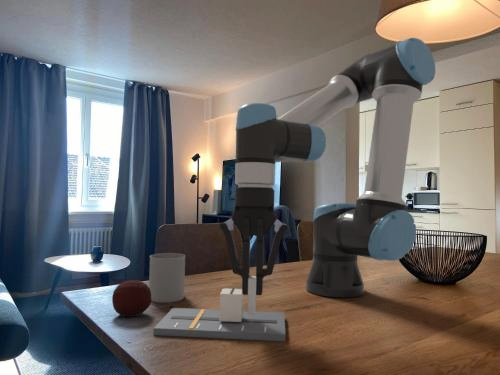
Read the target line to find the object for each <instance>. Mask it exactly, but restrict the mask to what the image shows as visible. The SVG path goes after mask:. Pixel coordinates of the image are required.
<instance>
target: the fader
mask: <svg viewBox="0 0 500 375" xmlns="http://www.w3.org/2000/svg"><path fill="white" fill-rule="evenodd" d="M244 296H245V295H243V293H242V288H235V287H232V288H222V290H221V292H220V293H219V310H220V319H219V321H230V322H241V321H242V317H243V311H244Z"/></svg>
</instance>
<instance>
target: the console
mask: <svg viewBox="0 0 500 375" xmlns="http://www.w3.org/2000/svg"><path fill="white" fill-rule="evenodd" d="M247 313H248V310H243V317H242V321H241V322H230V321H219V319H220V309H211V308H209V309H207V308H206V309H205V308H186V307H172V308H171V309H170V310H169V312H167V314H165V315H164V316H163V318H162V319H161V320H160V321H159V322H158V323H157V324H156V325H155V326H154V327H153V336H165V337H166V336H167V337H183V338H184V337H187V338H208V339H225V340H226V339H230V340H247V341H249V340H250V341H265V342H266V341H268V342H286V336H287V335H286V322H285V321H286V320H285V312H281V311H280V312H278V311H277V312H276V311H257V310H256V314H247Z"/></svg>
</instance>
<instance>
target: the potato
mask: <svg viewBox="0 0 500 375" xmlns="http://www.w3.org/2000/svg"><path fill="white" fill-rule="evenodd" d="M111 299H112V306H113V309H114V311H115V312H116V313H117V314H118V315H120V316H122V317H133V316H134V317H135V316H139V315H141V314H142V313H144V312H146V311H147V310H148V308H150V306H151V303H152V301H151V291H150V288H149V285H147V284H146V283H145V282H143V281H141V280H135V279H133V280H126V281H123V282H121V283H119V284H118V285H117V286H116V287H115V289H114V290H113V292H112V297H111Z"/></svg>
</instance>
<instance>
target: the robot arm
mask: <svg viewBox="0 0 500 375" xmlns="http://www.w3.org/2000/svg"><path fill="white" fill-rule="evenodd" d="M435 75H436V63H435V59H434V55H433V54H432V52H431V49H430V48H429V46H428V45H427V44H426V43H425V42H424V41H423V40H421V39H419V38H416V37H410V38H407V39H404V40H398V41H397V42H396V43H394V44H392V45H389V46H386V47H384V48H381V49H379V50H375V51H373V52H371V53H368V54H366V55H364V56H362V57H360V58H358V59H357V60H355V61H354V62H353V63H351V64H350V65H348V66H347V67H346V68H344V69H343V70H341V71H340V72H339V73H337V74H336V75H334V76H333V77H332V78H331V79H330V80H329V82H328V85H326V86H324V87H323V88H322V89H320V90H319V91H317V92H316V93H314V94H313V95H311V96H309V97H308V98H306V99H305V100H304V101H302V102H300V103H298V104H297V105H296V106H294V107H293V108H292V109H290V110H289V111H287V112H286V113H284V114H282V115H280V117H277V116H278V115H277V110H276V108H275V106H273V105H270V104H268V103H261V102H258V103H257V102H254V103H253V102H252V103H251V102H250V103H247V104H244V105H242V106H240V107H239V108H238V110H237V112H236V113H237V115H236V124H235V165H234V167H235V170H234V176H235V177H234V184H235V185H237V187H235V188H234V206H233V207H234V208H233V212H232V214H231V217H230V218H229V219H228V220H226V221H224V222H223V221H222V223H220V224H219V228H220V229H221V231H222V233H223V235H224V236H225V242H226V246H227V250H228V255H229V260H230V265H231V271H232V273H233V274H235V275H238V276H240V277H241V278H242V279H241V280H242V281H241V289H242V293H243V295H244V296H245V295H246V296H247V311H248V313H247V314H256V311H257V296H262V294H263V287H264V286H263V284H264V283H263V282H264V278H265V277H267V276H272V274H273V272H274V267H275V263H276V260H277V256H278V254H279V253H278V252H279V250H280V246H281V245H280V244H281V241H282V238H283V235H285V233H286V232H287V230H288V225H287V224H286V223H283V222H281V221H280V220H279V219H277V214H276V213H275V190H274V188H273V187H272V186H274V185H275V182H276V181H275V180H276V179H275V174H276V172H275V170H276V165H275V164H276V163H284V162H290V161H302V162H315V161H317V160H320V158H321V157H322V156H323V154H324V152H325V150H326V147H327V144H326V143H327V137H326V133H325V131H324V130H323V129H322V128H321V127H320V126H322V125H323V124H324V123H326V122H327V121H328V120H330V119H331V118H332V117H334V116H335V115H337V114H338V113H339V112H341V111H342V110H344V109H350V108H352V107H354V106H355V105H357V104H359V103H362V102H364V101H367V100H371V99H373V100H375V101H376V106H375V111H374V112H375V113H374V121H373V127H372V128H373V129H372V134H371V141H370V148H369V157H368V163H367V169H366V176H365V185H364V191H363V193H362V194H361V195H360V196H358V197H357V198H356V202H343V203H342V202H340V203H328V204H327V203H326V204H322V205H318V206H317V207H315V209H314V211H313V219H312V244H313V245H312V254H313V255H312V263H311V265H310V268H309V271H308V274H307V277H306V281H305V289H306V291H307V292H309V293H312V294H315V295H318V296H322V297H331V298H355V297H361V296H363V295H364V294H365V283H364V280H363V277H362V274H361V271H360V267H359V265H358V264H359V263H358V256H359V257H363V258H369V259H374V260H377V261H389V262H395V261H398V260H400V259H402V258H404V257H405V255H406V254H408V253H409V251H410V250H412V247H413V245H414V242H415V239H416V234H417V226H416V225H417V224H415V218H414V217H413V215H412V214H411V213H410V212H408V204H407V203H406V202H405V200H404V199H403V197H402V196H403V189H404V181H405V173H406V166H407V159H408V158H407V157H408V151H409V150H408V149H409V141H410V133H411V125H412V116H413V111H414V104H415V103H416V102H418V101H419V100H420V99H421V98H422V94H423V93H422V92H423V86H426V85H428V84H431V82H432V81H434V79H435ZM234 225H235V227H236V228H237V230H238V231H239V232H240V233H241V235H242V264H241V265H242V266H240V260H239V256H238V251H237V247H236V243H235V236H234V233H233V231H234ZM273 225H274V228H273V229H274V232H275V235H274V238H273V242H272V245H271V249H270V253H269V256H268V261H267V264H266V267H264V245H265V244H264V241H265V240H264V237H265V235H266V234H267V233H268V232H269V231H270V229H271V228H272V227H273ZM252 236H255V237H256V258H255V259H256V260H255V261H256V262H255V264H256V265H255V266H256V267H255V269H256V270H255V273H256V274H255V275H250V268H251V266H250V263H251V261H250V259H251V237H252Z"/></svg>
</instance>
